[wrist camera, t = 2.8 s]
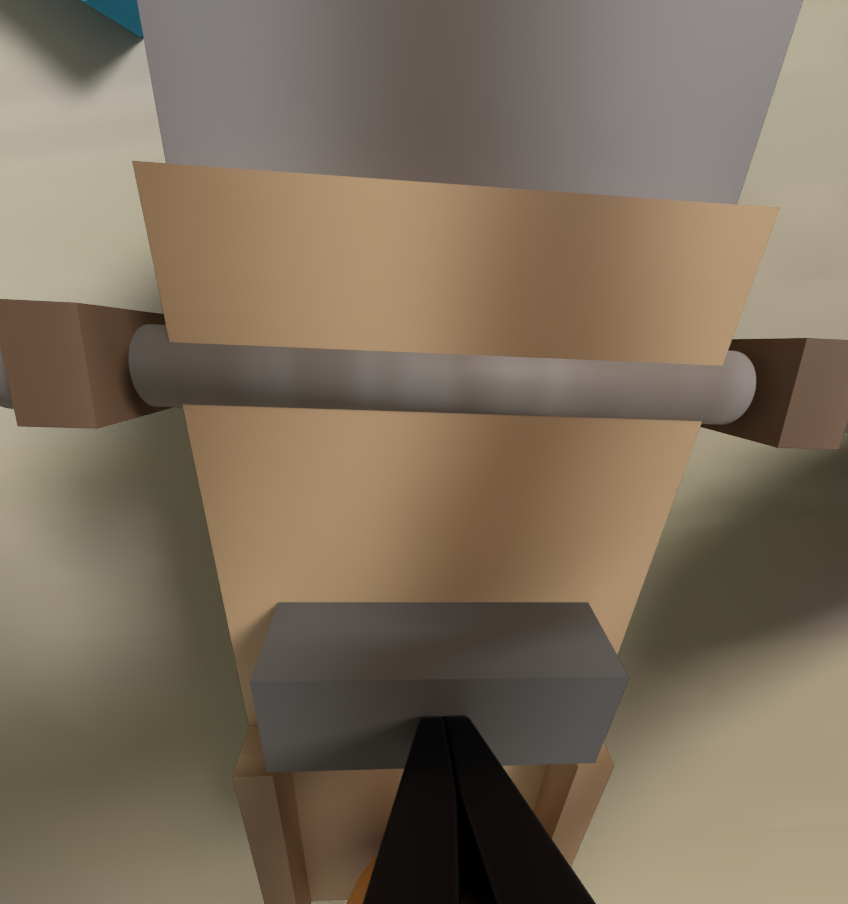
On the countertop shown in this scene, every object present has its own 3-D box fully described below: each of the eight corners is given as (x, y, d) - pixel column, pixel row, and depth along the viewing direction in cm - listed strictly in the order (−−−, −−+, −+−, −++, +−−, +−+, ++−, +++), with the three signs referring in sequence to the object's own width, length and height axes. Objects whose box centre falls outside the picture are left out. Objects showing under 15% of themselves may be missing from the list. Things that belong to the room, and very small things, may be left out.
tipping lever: (640, 87, 9) (1262, -363, 3) (505, 713, 19) (564, 964, 12) (235, 50, 9) (-330, -673, 2) (307, 717, 18) (252, 984, 11)
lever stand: (630, 189, 14) (1109, -131, 5) (592, 442, 16) (860, 577, 7) (212, 158, 13) (-272, -326, 4) (233, 432, 15) (-32, 573, 6)
